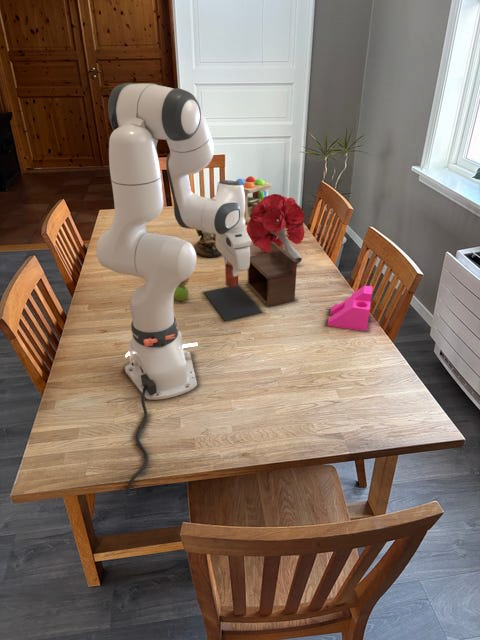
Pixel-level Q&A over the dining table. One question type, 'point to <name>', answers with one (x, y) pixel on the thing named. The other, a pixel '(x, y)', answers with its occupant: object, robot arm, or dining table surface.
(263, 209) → the bouquet
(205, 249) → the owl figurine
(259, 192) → the pounding bench toy
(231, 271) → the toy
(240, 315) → the felt mat
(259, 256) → the open-top box
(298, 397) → the dining table surface
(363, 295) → the bracket
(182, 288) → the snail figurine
